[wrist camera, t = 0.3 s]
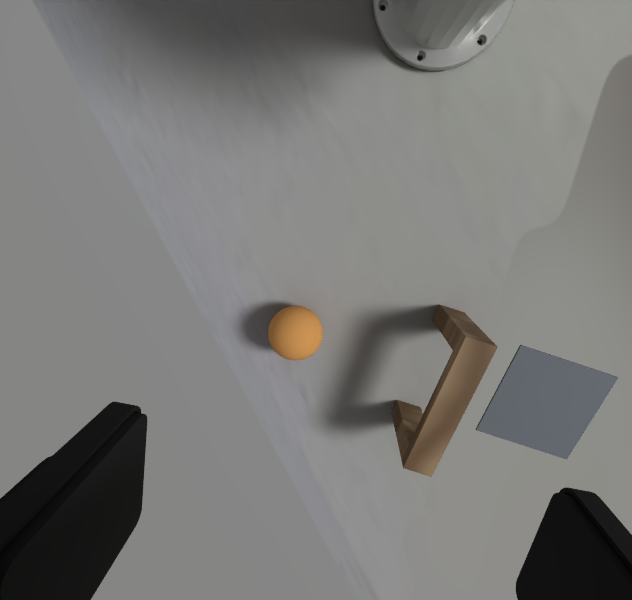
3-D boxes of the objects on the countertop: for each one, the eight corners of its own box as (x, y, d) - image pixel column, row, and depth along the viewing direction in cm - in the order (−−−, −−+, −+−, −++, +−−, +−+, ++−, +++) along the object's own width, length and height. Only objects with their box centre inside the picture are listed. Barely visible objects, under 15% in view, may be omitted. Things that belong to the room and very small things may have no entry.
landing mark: (520, 344, 44) (521, 345, 44) (617, 376, 44) (618, 377, 44) (475, 429, 48) (476, 430, 47) (565, 458, 48) (566, 459, 48)
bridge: (391, 413, 48) (403, 467, 39) (439, 304, 43) (466, 336, 34) (414, 420, 48) (431, 476, 39) (464, 312, 44) (497, 346, 34)
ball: (281, 292, 44) (272, 308, 39) (330, 308, 44) (328, 326, 39) (267, 338, 46) (256, 359, 40) (314, 353, 46) (311, 377, 40)
